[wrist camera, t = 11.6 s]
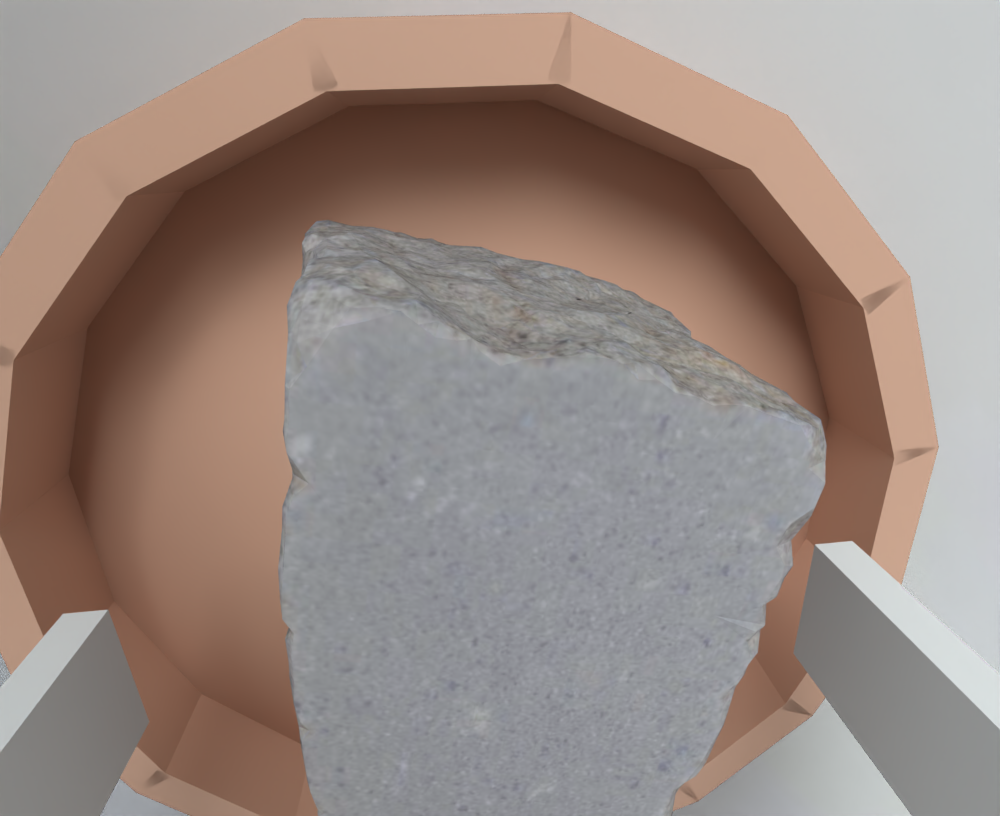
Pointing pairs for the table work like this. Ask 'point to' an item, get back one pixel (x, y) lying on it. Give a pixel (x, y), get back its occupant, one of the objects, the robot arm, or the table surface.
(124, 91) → the table surface
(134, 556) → the saucer
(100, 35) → the table surface
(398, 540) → the decorative stone
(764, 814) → the table surface
